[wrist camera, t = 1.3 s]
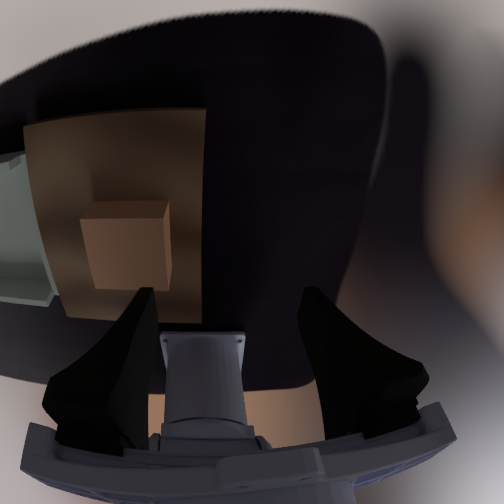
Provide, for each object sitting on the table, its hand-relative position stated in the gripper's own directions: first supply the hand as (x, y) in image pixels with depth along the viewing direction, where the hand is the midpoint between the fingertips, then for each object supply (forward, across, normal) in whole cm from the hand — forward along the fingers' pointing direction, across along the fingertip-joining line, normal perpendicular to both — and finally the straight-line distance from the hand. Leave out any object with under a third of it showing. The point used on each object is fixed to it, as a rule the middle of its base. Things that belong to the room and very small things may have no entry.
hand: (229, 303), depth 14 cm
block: (+6, +6, 0) cm, 9 cm away
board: (+8, +8, 0) cm, 11 cm away
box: (+8, +19, 0) cm, 21 cm away
